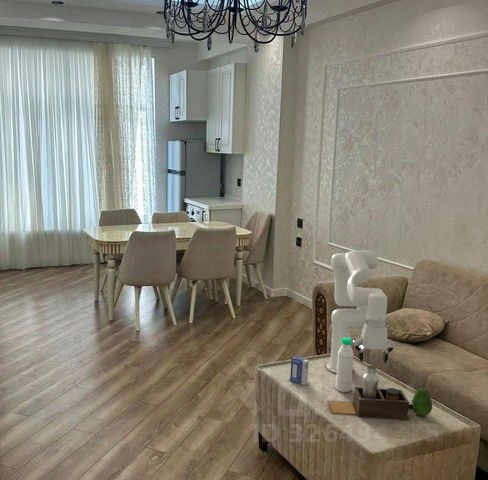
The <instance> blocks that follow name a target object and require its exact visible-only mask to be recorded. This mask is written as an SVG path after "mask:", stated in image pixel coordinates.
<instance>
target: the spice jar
mask: <svg viewBox="0 0 488 480" xmlns="http://www.w3.org/2000/svg"><path fill="white" fill-rule="evenodd" d="M385 389H386V400H398V399H399V390H400V389H397V388H394V387H388V388H385Z"/></svg>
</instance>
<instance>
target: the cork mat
mask: <svg viewBox="0 0 488 480" xmlns="http://www.w3.org/2000/svg"><path fill="white" fill-rule="evenodd" d="M328 403H329V407H330V410H331V413H332V414H337V415H340V414H341V415H357V412H356V409H355V407H354V404H353V401H339V400H338V401H336V400H328Z"/></svg>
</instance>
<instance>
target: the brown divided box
mask: <svg viewBox="0 0 488 480" xmlns="http://www.w3.org/2000/svg"><path fill="white" fill-rule="evenodd" d="M353 389H354V390H353V401H352V404H353V407H354V409H355V412H356V415H357V416H358V417H359V418H374V419H375V418H376V419H391V420H408V417H409V407H410V406H409V405H410V401H409V399H408V398H407V396H406V395H405V393H404V391H403V390H402V389H398V390H399V399H398V400H386V389H387V388H379V387H377V391H376V399H366V398H362V396H363V386H361V387H359V386H355V387H354V388H353Z"/></svg>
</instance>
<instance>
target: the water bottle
mask: <svg viewBox="0 0 488 480" xmlns="http://www.w3.org/2000/svg"><path fill="white" fill-rule="evenodd" d="M341 343H342V346H341V348H340V349H339V351H338V361H337V373H336V375H335V386H334V387H335V389H336V390H337V391H339V392H341V393H348V392H351V390H352V381H353V370H354V356H355V353H354V351H353V347H352V345H353V339H351V338H348V337H344V338H342V340H341Z"/></svg>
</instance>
